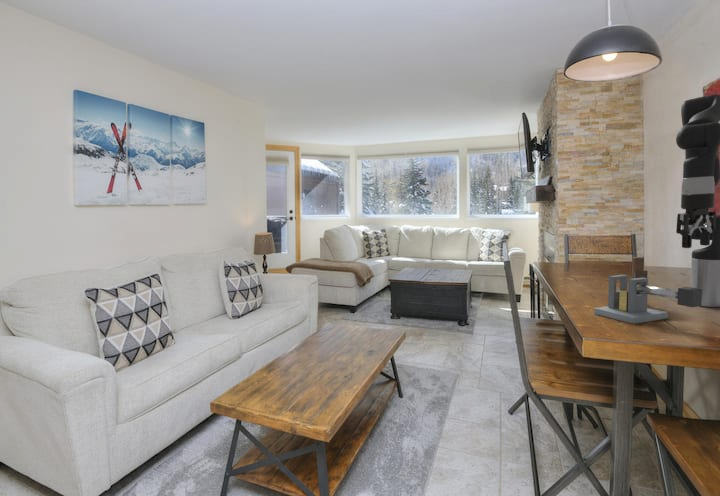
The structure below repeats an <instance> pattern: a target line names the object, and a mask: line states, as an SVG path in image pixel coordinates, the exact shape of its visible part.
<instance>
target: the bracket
mask: <svg viewBox="0 0 720 496" xmlns="http://www.w3.org/2000/svg"><path fill="white" fill-rule="evenodd" d="M628 276H629V275H627V274H618V275H609V276H608V302H607V306H600V307H594V308H593V313H594V315H597V316H602V317H605V318H610V319H613V320H617V321H620V322H624V323H630V324H632V325H635V324H642V323H646V322H652V321H659V320H666V319H668V317H669V312H668V311H664V310H659V309H654V308H649V307H648V297H649V296H648V295H649V294H644V293H640V294H636V288H637V283H638V282H640V284H641V285H648V286H649V278H648V277H647V278H634V279H632V278H629V277H628ZM617 280H619V289H617ZM625 289H628V312H624V311H619V297H620V290H625Z"/></svg>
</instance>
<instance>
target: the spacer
mask: <svg viewBox="0 0 720 496" xmlns="http://www.w3.org/2000/svg"><path fill="white" fill-rule="evenodd" d="M619 290H620V289H619ZM636 294H640V293H638V292H637V291H636ZM619 311H624V312H628V288H627V289H625V290H620V297H619Z"/></svg>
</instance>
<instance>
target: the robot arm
mask: <svg viewBox="0 0 720 496" xmlns="http://www.w3.org/2000/svg"><path fill="white" fill-rule="evenodd" d="M680 112H681V113H680V114H681V115H680V116H681V123H682V126H681V128H680V129H679V130H678V132H677V134H676V139H675V142H676V145H677V147H678V148H680V149H681V150H684V151H685V152H684V153H685V160H684V161H683V167H682V170H683V171H682V182H681V193H680V194H681V199H680V202H681V203H680V208H681V210H685V212H683V213H677V218H676V234H679V235H680V236H681V248H683V249H691V248H692V243H693V242H692V241H693V240H695V241H697V240H698V241H699V245H701V246H705V247H703V248H698V249H694V250H693V251H692V252H691V263H690V266H691V267H690V283H689V285H690V286H689V287H691V288H698V289H702V303H701V306H700V307H708V308H720V214H717V212H716V210H709V209H713V208H714V207H715V188H716V187H717V185H718V183H719V182H720V159H719V157H718V156H717V153H718V151H719V147H720V94H719V93H718V94H716V93H715V94H714V93H713V94H708V95H703V96H700V97H695V98H690V99H686V100H684V101H683V102H682V104H681V108H680Z"/></svg>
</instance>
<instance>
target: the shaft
mask: <svg viewBox="0 0 720 496" xmlns="http://www.w3.org/2000/svg"><path fill="white" fill-rule="evenodd" d="M636 291H637V292H638V293H644V294H648V295H651V296H654V297H661V298H666V299H667V298H668V299H673V300H677V303H676V304H677V305H679V306H684V307H688V308H696V307H702V306H701V303H702V289H698V288H691V287H690V286H684V287H683V286H682V287H678V288H677V289H674V288H672V289H671V288H666V287H665V288H664V287H660V286H659V287H658V286H654V285H653V286H652V285H649V284H648V285H641V284H638V285H637V288H636Z"/></svg>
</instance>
